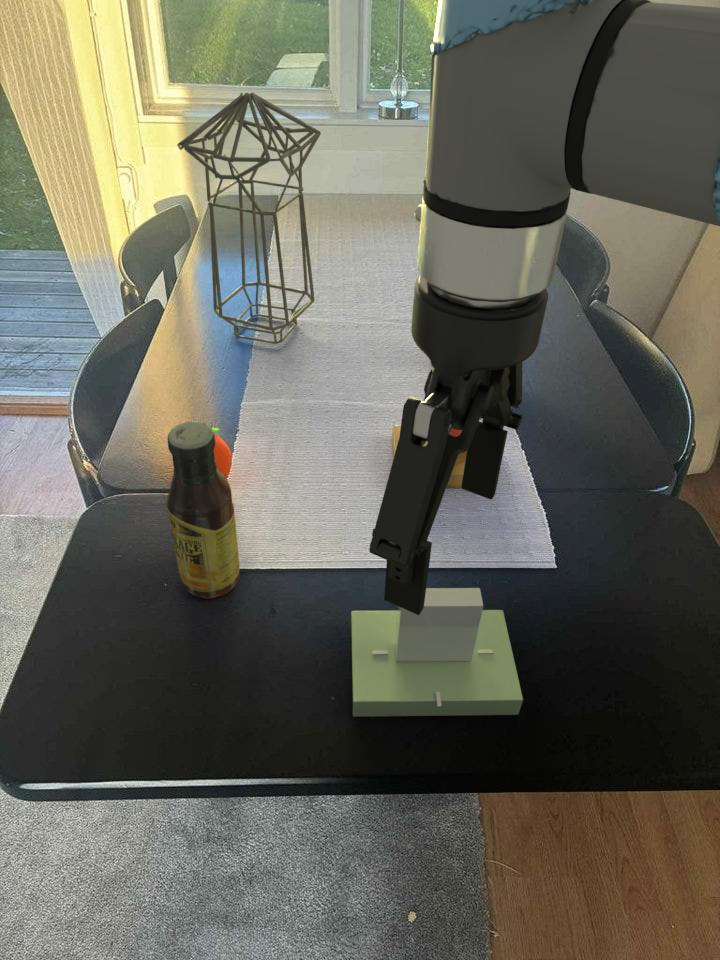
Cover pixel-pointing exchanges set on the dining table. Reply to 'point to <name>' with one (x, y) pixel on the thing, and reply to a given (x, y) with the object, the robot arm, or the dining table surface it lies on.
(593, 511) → the dining table surface
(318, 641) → the dining table surface
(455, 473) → the button block
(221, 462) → the clementine
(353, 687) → the plate
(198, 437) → the sauce bottle
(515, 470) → the dining table surface
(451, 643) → the grey upright flat block
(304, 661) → the dining table surface
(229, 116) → the geometric lantern
